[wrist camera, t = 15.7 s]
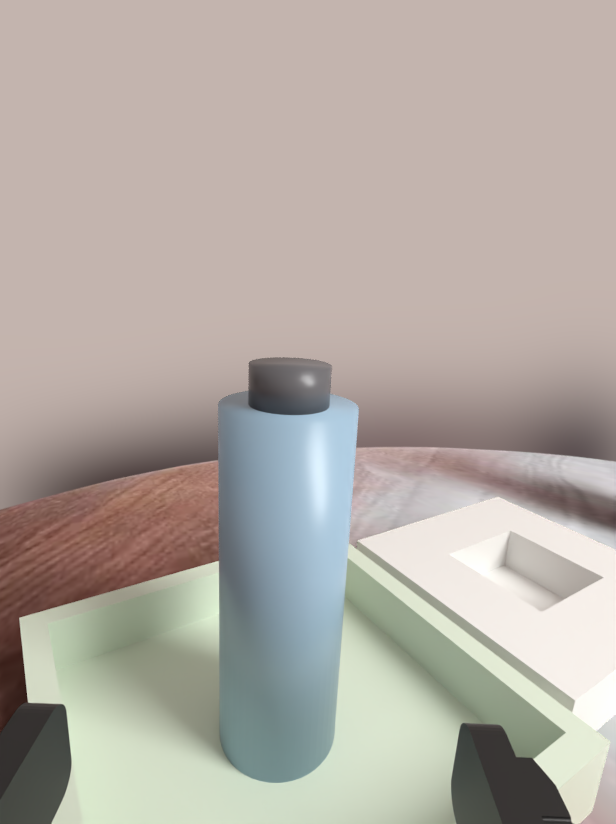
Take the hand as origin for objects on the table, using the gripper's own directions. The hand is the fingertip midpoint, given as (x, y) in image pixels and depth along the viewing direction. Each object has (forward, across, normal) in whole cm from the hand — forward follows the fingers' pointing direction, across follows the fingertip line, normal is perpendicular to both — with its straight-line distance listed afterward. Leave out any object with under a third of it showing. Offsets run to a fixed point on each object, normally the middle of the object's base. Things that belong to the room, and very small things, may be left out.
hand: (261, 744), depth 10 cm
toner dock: (+21, -16, +12) cm, 29 cm away
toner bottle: (+11, 0, +12) cm, 16 cm away
